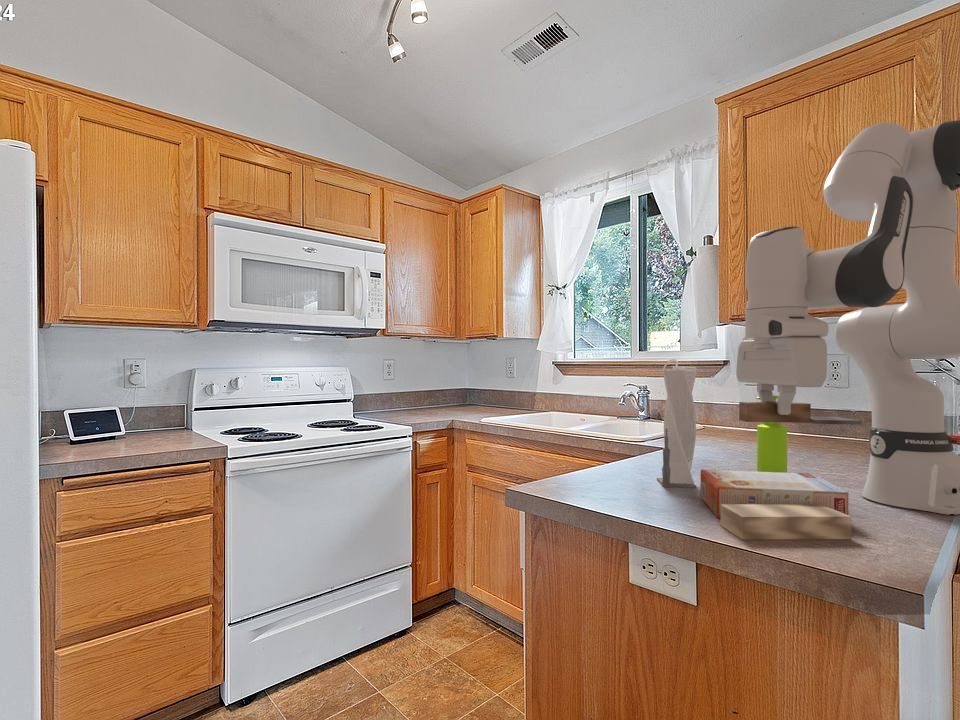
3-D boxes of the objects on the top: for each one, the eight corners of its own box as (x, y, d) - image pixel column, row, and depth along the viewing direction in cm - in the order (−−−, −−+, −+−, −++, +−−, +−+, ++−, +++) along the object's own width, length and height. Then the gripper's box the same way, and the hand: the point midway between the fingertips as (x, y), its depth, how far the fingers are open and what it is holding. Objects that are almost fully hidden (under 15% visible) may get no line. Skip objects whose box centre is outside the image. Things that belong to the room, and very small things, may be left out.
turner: (836, 420, 87) (836, 402, 87) (861, 424, 81) (861, 405, 81) (734, 418, 88) (734, 401, 88) (752, 423, 82) (752, 404, 82)
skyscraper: (655, 478, 123) (655, 359, 123) (691, 479, 122) (691, 359, 122) (663, 486, 114) (663, 359, 114) (701, 488, 113) (702, 359, 113)
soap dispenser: (747, 483, 118) (747, 394, 118) (769, 480, 120) (769, 394, 121) (771, 489, 112) (771, 396, 112) (793, 486, 115) (793, 395, 115)
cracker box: (716, 520, 91) (850, 526, 87) (716, 485, 91) (850, 490, 87) (699, 498, 105) (815, 503, 101) (699, 468, 105) (814, 472, 101)
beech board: (820, 524, 88) (820, 504, 88) (851, 539, 81) (851, 516, 81) (720, 525, 87) (720, 504, 87) (742, 539, 80) (742, 516, 80)
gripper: (727, 331, 95) (726, 407, 95) (791, 323, 75) (791, 419, 75) (761, 331, 95) (761, 407, 95) (836, 323, 75) (836, 420, 74)
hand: (775, 413), depth 85 cm, fingers closed on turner, 3 cm apart
